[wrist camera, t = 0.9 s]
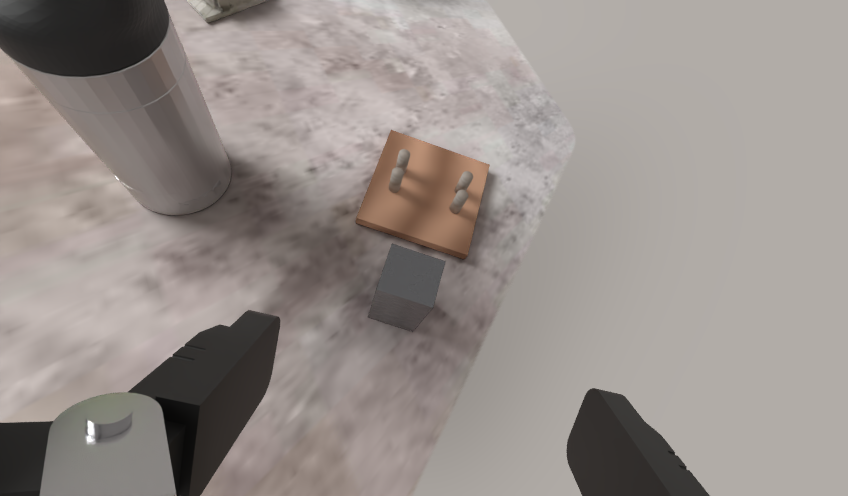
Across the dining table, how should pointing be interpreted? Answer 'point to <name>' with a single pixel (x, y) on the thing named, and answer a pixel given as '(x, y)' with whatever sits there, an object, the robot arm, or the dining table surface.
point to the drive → (406, 288)
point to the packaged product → (220, 7)
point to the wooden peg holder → (424, 195)
